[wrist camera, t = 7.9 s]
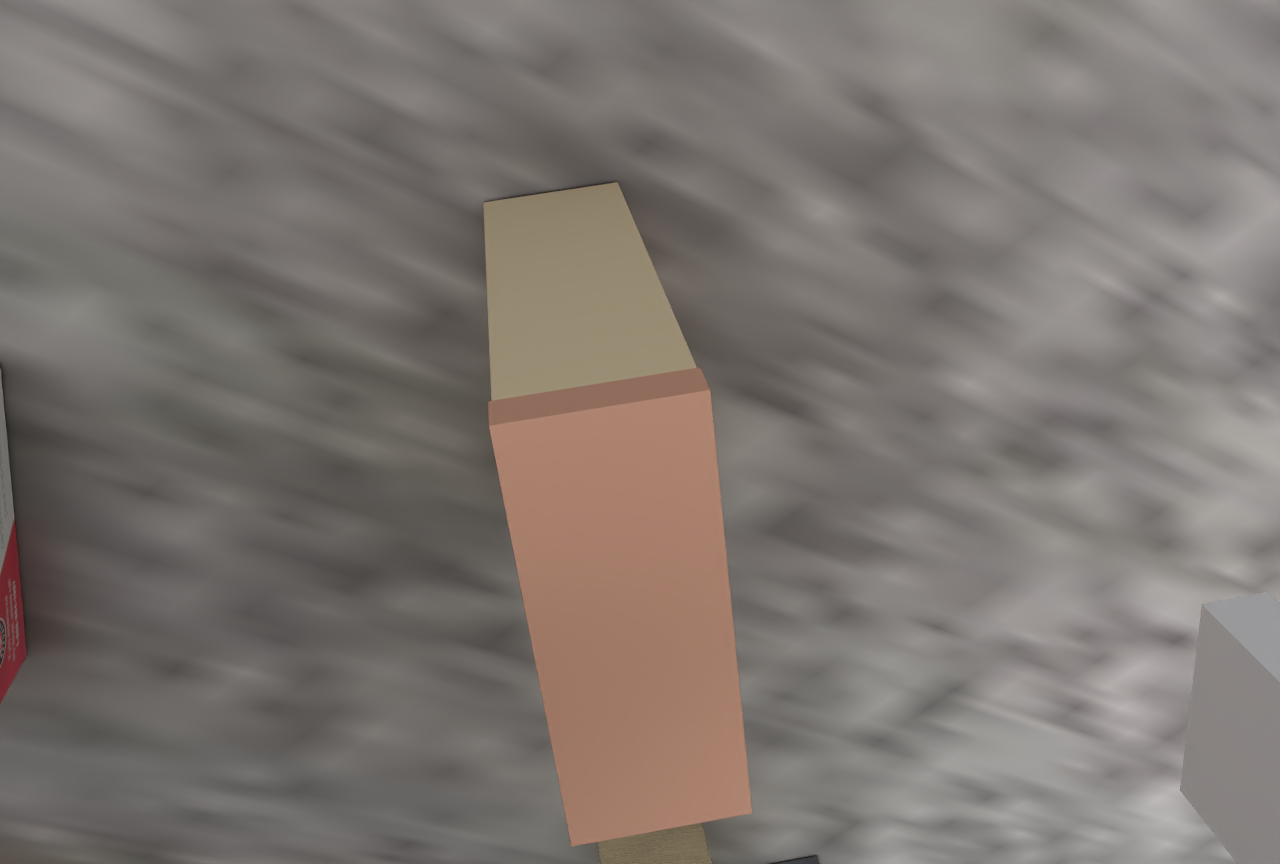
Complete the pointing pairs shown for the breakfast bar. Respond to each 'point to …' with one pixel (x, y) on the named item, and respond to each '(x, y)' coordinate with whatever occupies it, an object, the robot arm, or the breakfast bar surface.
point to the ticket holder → (665, 848)
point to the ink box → (9, 573)
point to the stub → (613, 517)
